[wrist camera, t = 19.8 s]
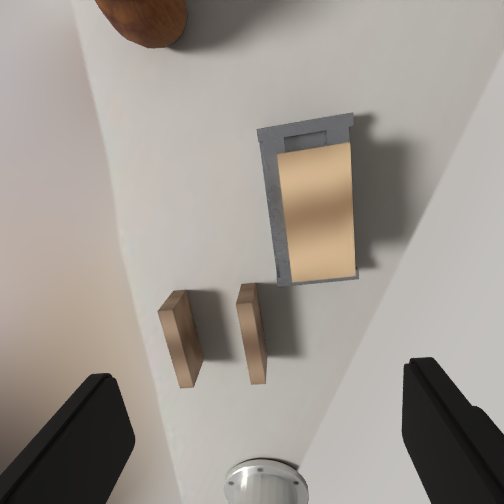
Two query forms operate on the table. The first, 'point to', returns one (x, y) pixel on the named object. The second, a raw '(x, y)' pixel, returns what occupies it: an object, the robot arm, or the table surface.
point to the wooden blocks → (187, 344)
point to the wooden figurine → (146, 20)
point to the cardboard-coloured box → (318, 212)
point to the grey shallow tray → (270, 145)
